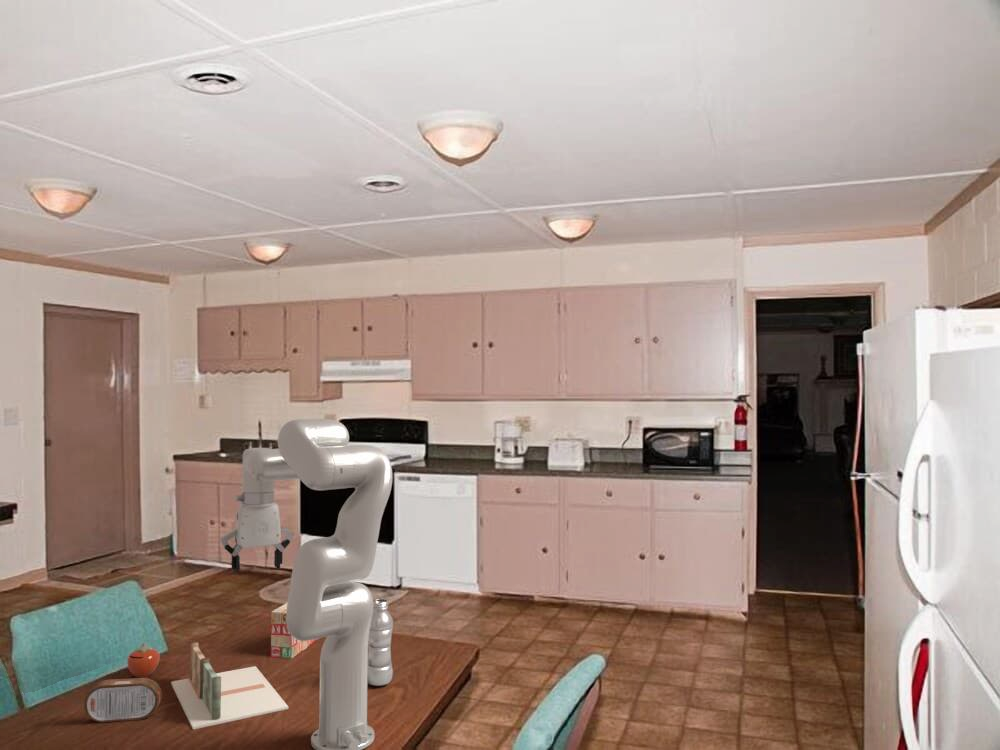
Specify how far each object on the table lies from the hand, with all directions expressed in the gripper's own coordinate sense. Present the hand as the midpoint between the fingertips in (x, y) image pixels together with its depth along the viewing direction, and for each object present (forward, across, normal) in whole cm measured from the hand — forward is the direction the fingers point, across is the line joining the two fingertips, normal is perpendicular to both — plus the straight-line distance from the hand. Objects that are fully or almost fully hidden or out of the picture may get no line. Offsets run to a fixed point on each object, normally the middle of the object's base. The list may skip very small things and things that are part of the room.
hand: (257, 569), depth 181 cm
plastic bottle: (+28, +26, -14) cm, 41 cm away
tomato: (+28, -23, +20) cm, 41 cm away
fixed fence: (+27, -12, +3) cm, 30 cm away
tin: (+28, -29, -6) cm, 41 cm away
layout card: (+28, -7, -4) cm, 29 cm away
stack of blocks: (+28, +17, +24) cm, 40 cm away
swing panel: (+27, -12, -11) cm, 32 cm away
